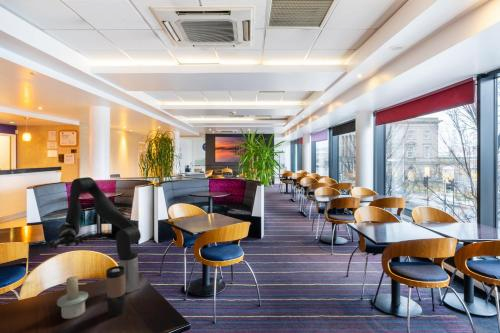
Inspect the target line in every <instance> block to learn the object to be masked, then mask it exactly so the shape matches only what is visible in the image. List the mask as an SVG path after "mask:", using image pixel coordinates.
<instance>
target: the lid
mask: <svg viewBox="0 0 500 333" xmlns="http://www.w3.org/2000/svg"><path fill="white" fill-rule="evenodd" d="M88 298H89V292H87V291H84V290H79V277H78V276H76V275H75V276H70V277H67V278H66V294H64V295H62V296H61V297H59V298H58V299H57V301H56V305H57V306H58V307H60V308H61V307H71V306H75V305H77V304H80V303H82V302H84V301H85V302H86V300H87V299H88Z"/></svg>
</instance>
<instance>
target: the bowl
mask: <svg viewBox="0 0 500 333" xmlns="http://www.w3.org/2000/svg"><path fill="white" fill-rule="evenodd" d="M60 309H61V310H60V311H61V318H63V319H69V320H70V319H73V318H76V317H79V316H80V315H81V316H82V315H83V314H84V313H85V312H86V300H85V301H84V302H82V303H80V304H77V305H75V306H71V307H60Z"/></svg>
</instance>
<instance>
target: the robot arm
mask: <svg viewBox="0 0 500 333" xmlns="http://www.w3.org/2000/svg"><path fill="white" fill-rule="evenodd" d="M70 184H71V185H70V189H69V191H70V192H69V204H68V209H67V213H66V216H65V223H64V224H61V225H59V228H58V236H59V238H58V239H57V240H54V239H52V240H50V242H49V248H50V249H52V248H53V249H55V250H57V249H58V247H59V248H60V247H62V246H63V247H70V246H72V245H75V246H76V247H77V246H78V245H80V244H83V243H84V238H83V235H79V233H80V219H81V216H82V212H83V210H82V206H81V204H80V201H79V198H80V196H81V195H84V194H90V196H92V198H93V199H94V202H93V203H94V204H93V205H94V206H93V208H94V212H96V214H97V215H98V216H99V217H100V218H101V219H102V221H104V222H107V223H108V224H109V223H110V224H111V225H114V226H116V227H118V228H119V229H120V230H118V231H117V232H116V233H115V234H116V235H115V242H116V243H115V244H116V253H117V256H118V266H123V267H124V272H125V294H127V293H128V294H129V293H132V292H136V291H137V290H139V289H140V270H139V262H138V261H139V259H138V258H139V253H138V250H136V249H134V248H133V249H132V248H131V245H134V244H135V243H138V242H139V241H140V240H141V238H142V234H141V231H140V230H139V228H138V227H137V226H136V225H135V224H133V222H131V221H130V219H128V218H127V217H126V216H125V215H124V214H123V213H122V212H121V211H120V209H118V207H116V205H115V204H114V203H113V202H112V201H111V200H110V199H109V198H108V196H106V194H105V193H104V192H103V190H102V189H101V188H100V186H99V185H98V183H97V182H96V181H95V179H93V178H92V177H88V176H87V177H79V178H74V179H73V180H72V181H71V183H70ZM78 235H79V236H78ZM77 236H78V237H77Z"/></svg>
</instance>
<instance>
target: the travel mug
mask: <svg viewBox="0 0 500 333" xmlns="http://www.w3.org/2000/svg"><path fill="white" fill-rule="evenodd" d="M105 273H106V275H105V277H106V302H107V314H108V316H109V315H110V317H117V316H120V315H123V314H124V313H125V311H126V293H125V272H124V267H123V266H119V265H116V266H112V267H109V268H107V269H106V271H105Z"/></svg>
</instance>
